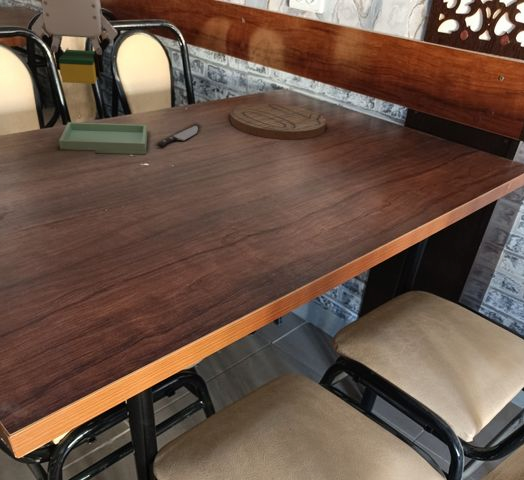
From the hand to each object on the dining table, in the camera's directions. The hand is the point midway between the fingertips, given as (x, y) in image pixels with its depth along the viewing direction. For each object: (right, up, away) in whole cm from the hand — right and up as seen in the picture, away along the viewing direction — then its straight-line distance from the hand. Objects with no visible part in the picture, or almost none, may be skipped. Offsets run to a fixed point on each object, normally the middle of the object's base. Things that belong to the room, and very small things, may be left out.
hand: (81, 74), depth 100 cm
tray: (+1, -9, +12) cm, 15 cm away
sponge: (0, 0, 0) cm, 1 cm away
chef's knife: (+17, -5, +18) cm, 26 cm away
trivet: (+40, +5, +33) cm, 52 cm away
